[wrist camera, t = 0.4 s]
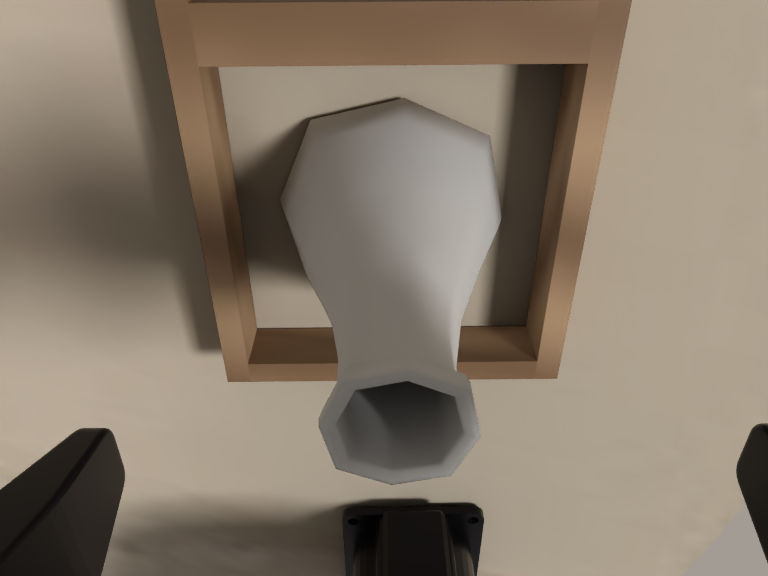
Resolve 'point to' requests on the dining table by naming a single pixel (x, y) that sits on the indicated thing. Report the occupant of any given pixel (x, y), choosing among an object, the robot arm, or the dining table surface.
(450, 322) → the flask
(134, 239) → the dining table surface
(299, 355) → the caddy
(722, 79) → the dining table surface
